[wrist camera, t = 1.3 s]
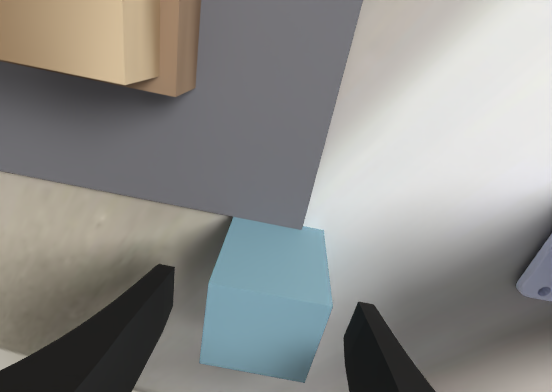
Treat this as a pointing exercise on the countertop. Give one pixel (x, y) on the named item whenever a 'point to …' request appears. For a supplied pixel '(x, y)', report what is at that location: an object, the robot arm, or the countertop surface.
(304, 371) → the block
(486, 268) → the countertop surface
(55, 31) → the tower mid
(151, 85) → the tower base
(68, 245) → the countertop surface
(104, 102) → the mat
